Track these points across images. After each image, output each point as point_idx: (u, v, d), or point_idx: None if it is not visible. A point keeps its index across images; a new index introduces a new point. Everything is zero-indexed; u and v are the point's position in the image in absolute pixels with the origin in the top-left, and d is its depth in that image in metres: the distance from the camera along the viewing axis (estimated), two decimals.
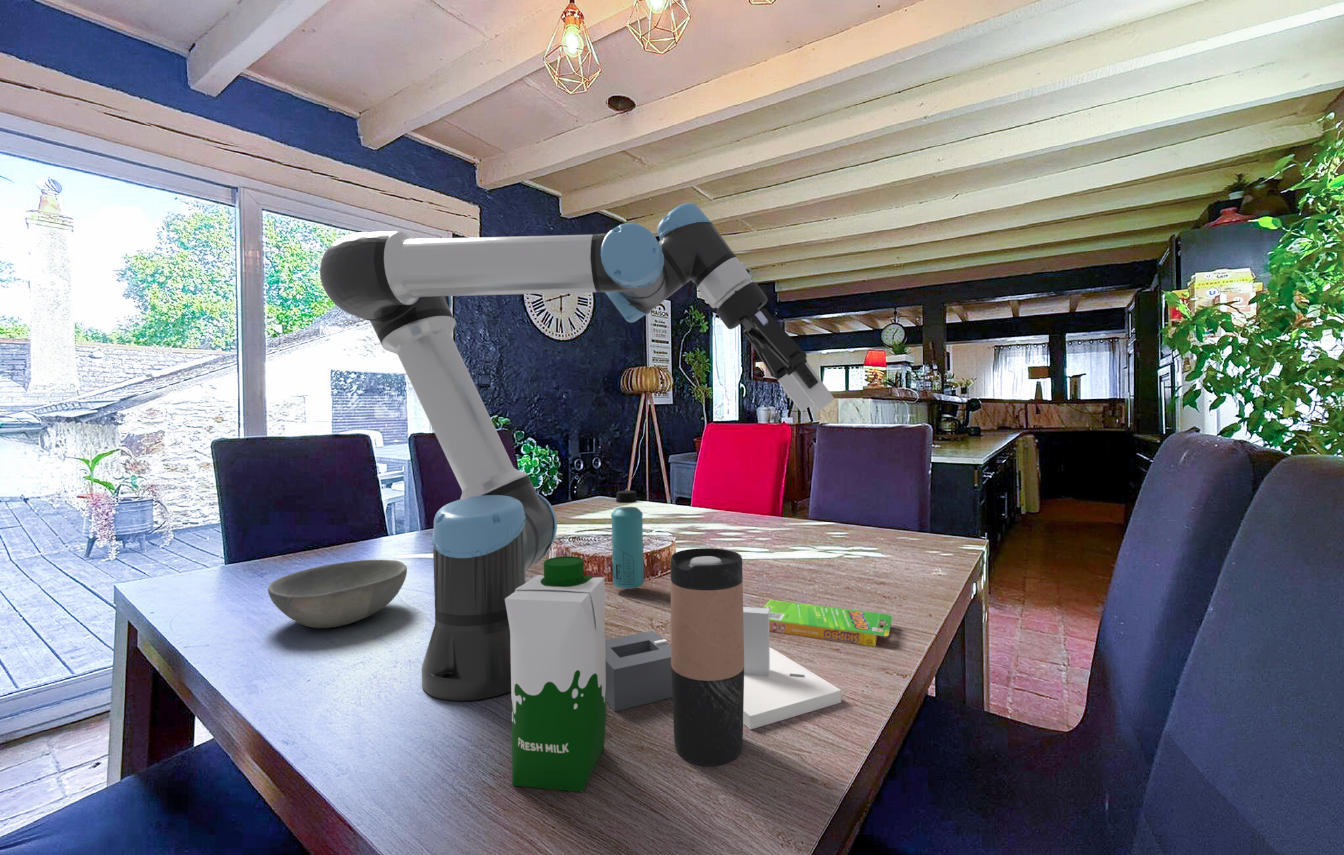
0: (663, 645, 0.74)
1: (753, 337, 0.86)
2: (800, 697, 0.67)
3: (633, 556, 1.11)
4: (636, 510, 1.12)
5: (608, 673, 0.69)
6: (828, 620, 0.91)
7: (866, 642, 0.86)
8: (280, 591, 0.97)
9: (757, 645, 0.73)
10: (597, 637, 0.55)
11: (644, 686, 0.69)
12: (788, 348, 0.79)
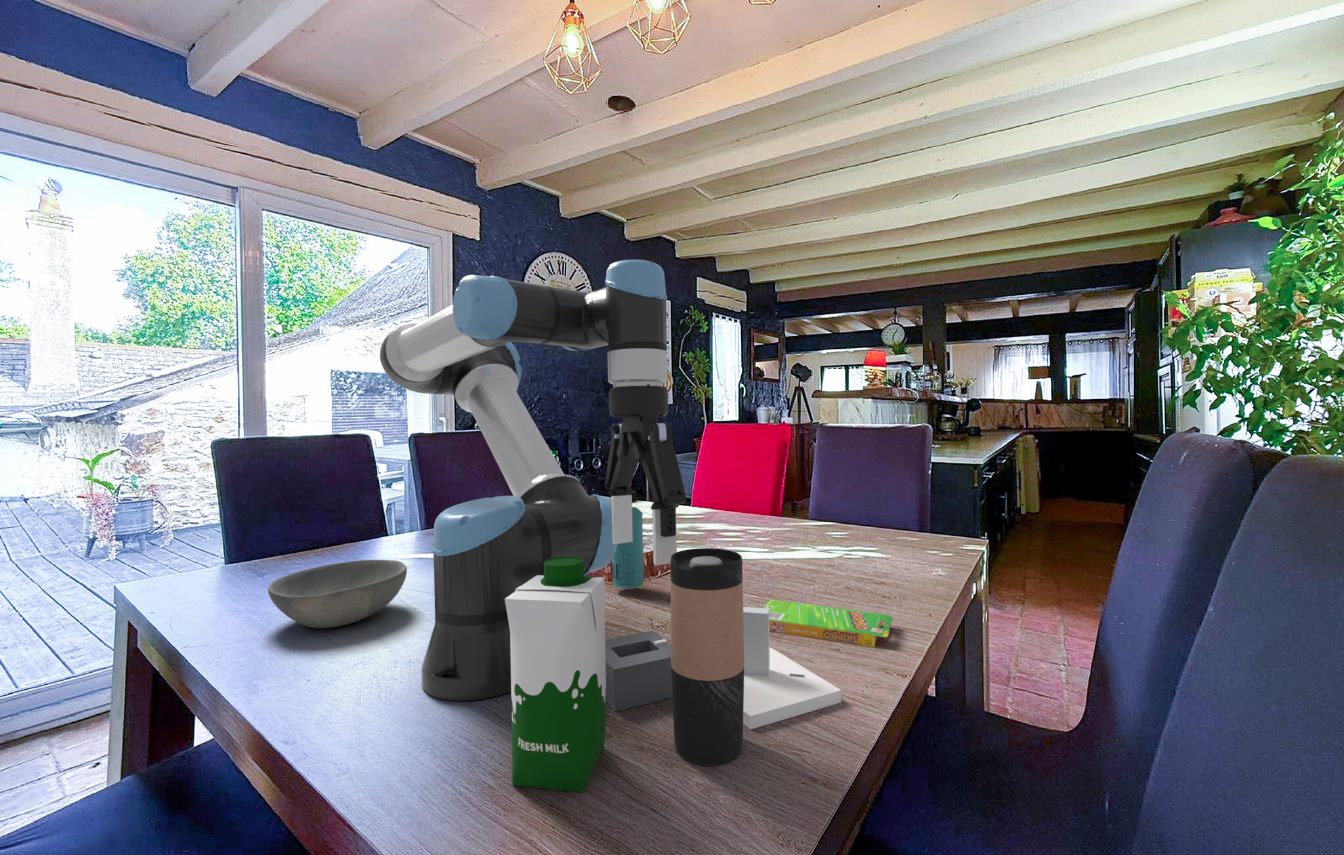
0: (663, 645, 0.74)
1: (633, 442, 0.70)
2: (800, 697, 0.67)
3: (633, 556, 1.11)
4: (636, 510, 1.12)
5: (608, 673, 0.69)
6: (828, 620, 0.91)
7: (865, 642, 0.86)
8: (280, 591, 0.97)
9: (757, 645, 0.73)
10: (597, 637, 0.55)
11: (644, 686, 0.69)
12: (672, 482, 0.65)
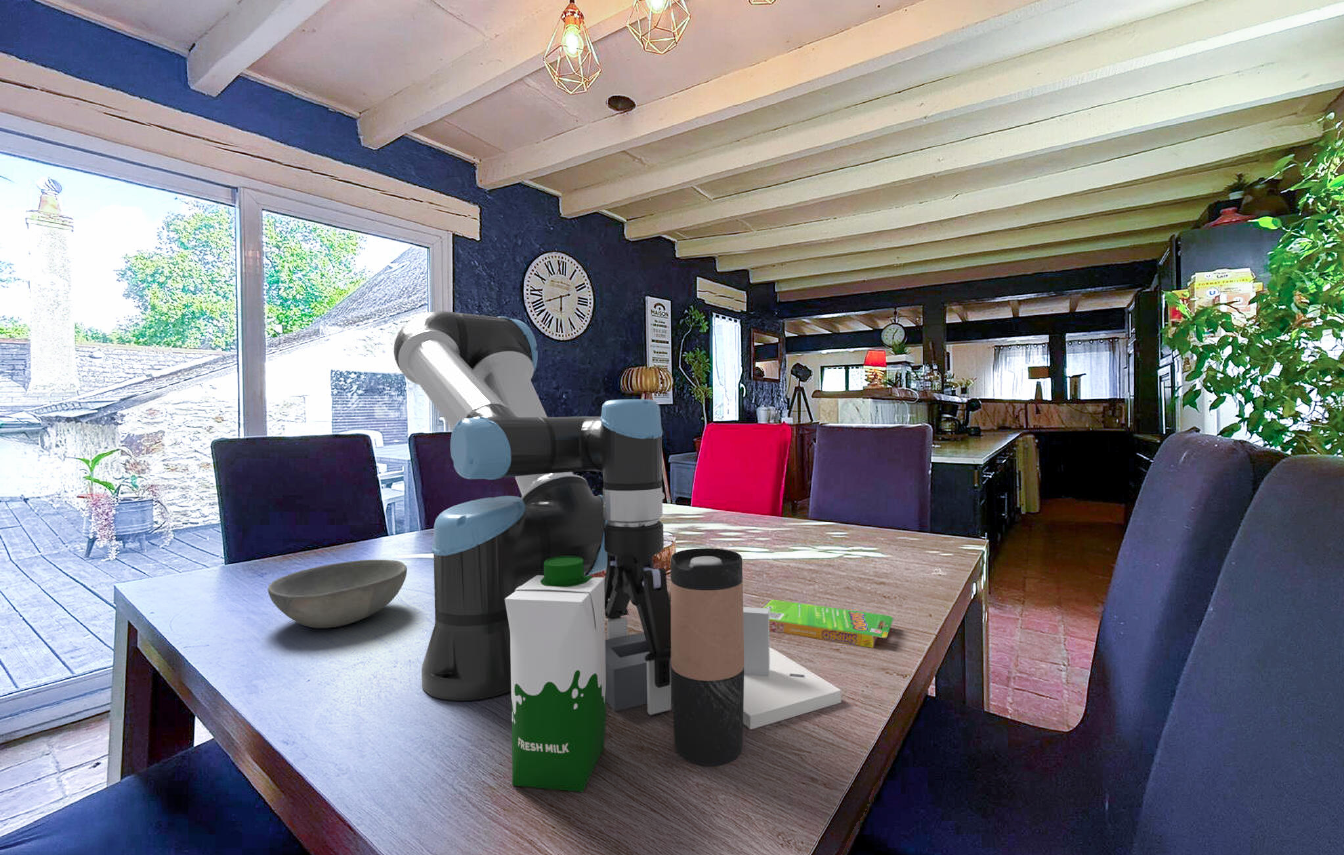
0: None
1: (627, 582, 0.70)
2: (800, 697, 0.67)
3: None
4: None
5: (608, 673, 0.69)
6: (827, 620, 0.91)
7: (864, 643, 0.85)
8: (280, 591, 0.97)
9: (757, 645, 0.73)
10: (597, 637, 0.55)
11: (644, 686, 0.69)
12: (666, 635, 0.64)
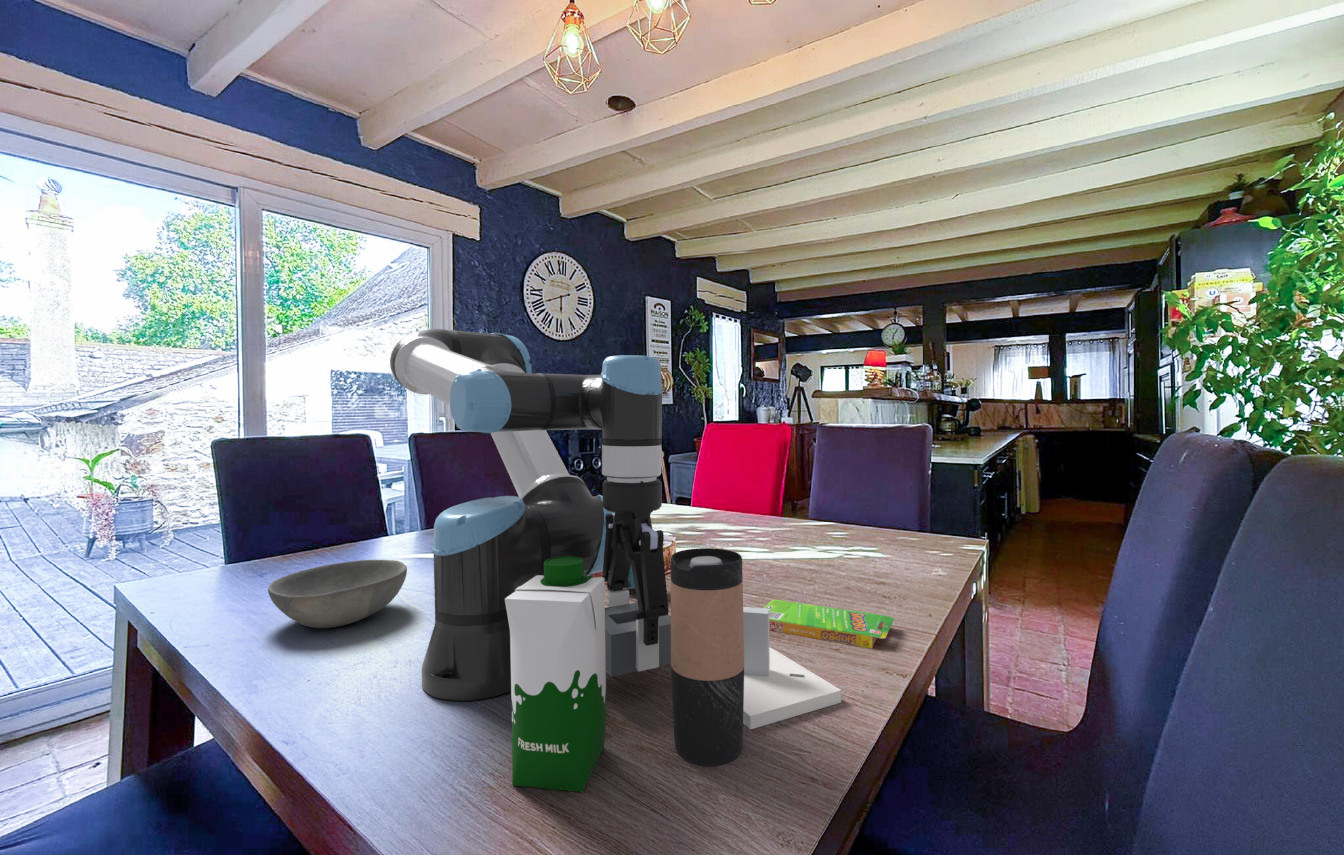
0: None
1: (624, 539, 0.71)
2: (800, 697, 0.67)
3: None
4: None
5: (605, 639, 0.69)
6: (827, 621, 0.90)
7: (863, 644, 0.85)
8: (280, 591, 0.97)
9: (757, 645, 0.73)
10: (597, 637, 0.55)
11: None
12: (657, 596, 0.66)
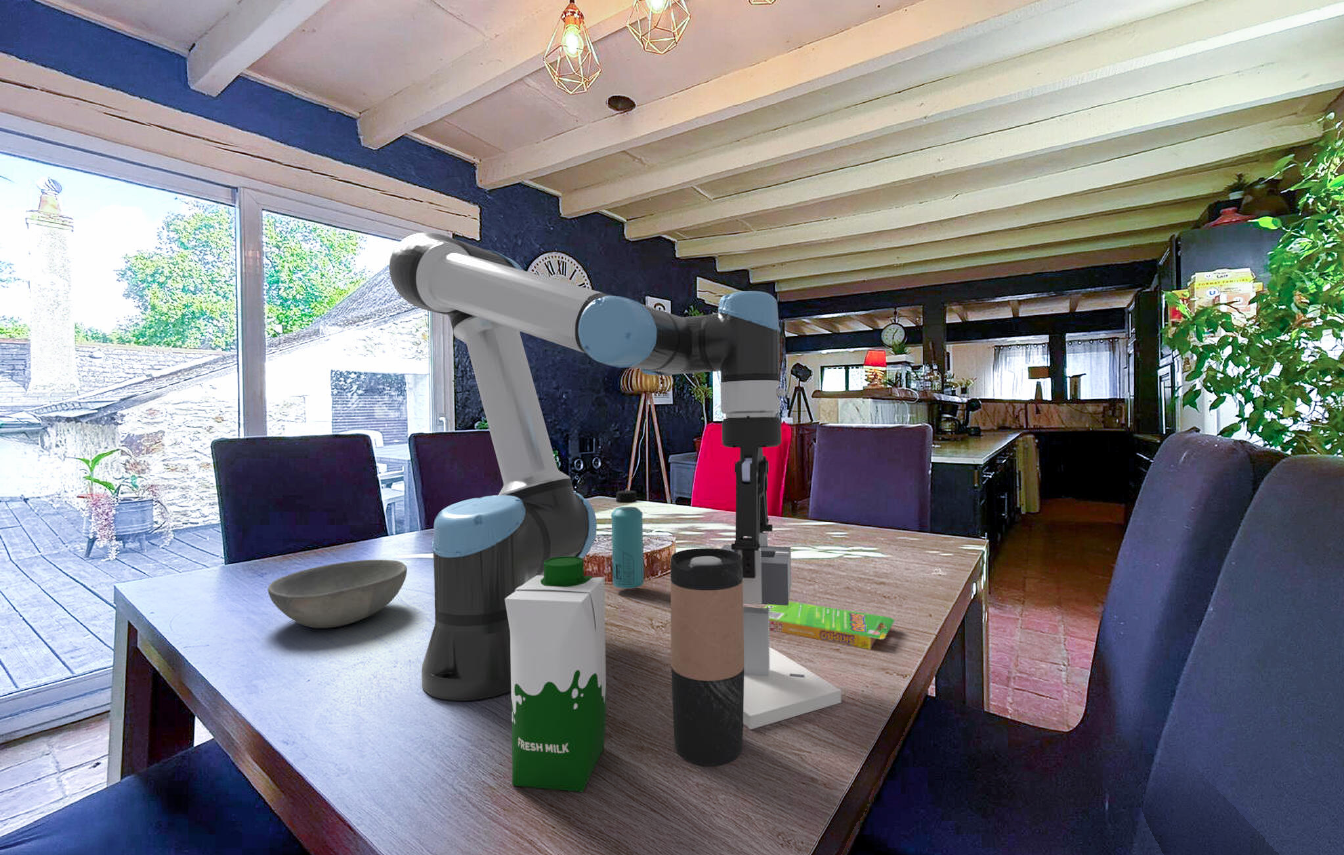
0: (781, 556, 0.72)
1: None
2: (800, 697, 0.67)
3: (633, 556, 1.11)
4: (636, 510, 1.12)
5: None
6: (826, 621, 0.90)
7: (861, 644, 0.85)
8: (280, 591, 0.97)
9: (757, 645, 0.73)
10: (597, 637, 0.55)
11: None
12: (745, 527, 0.66)
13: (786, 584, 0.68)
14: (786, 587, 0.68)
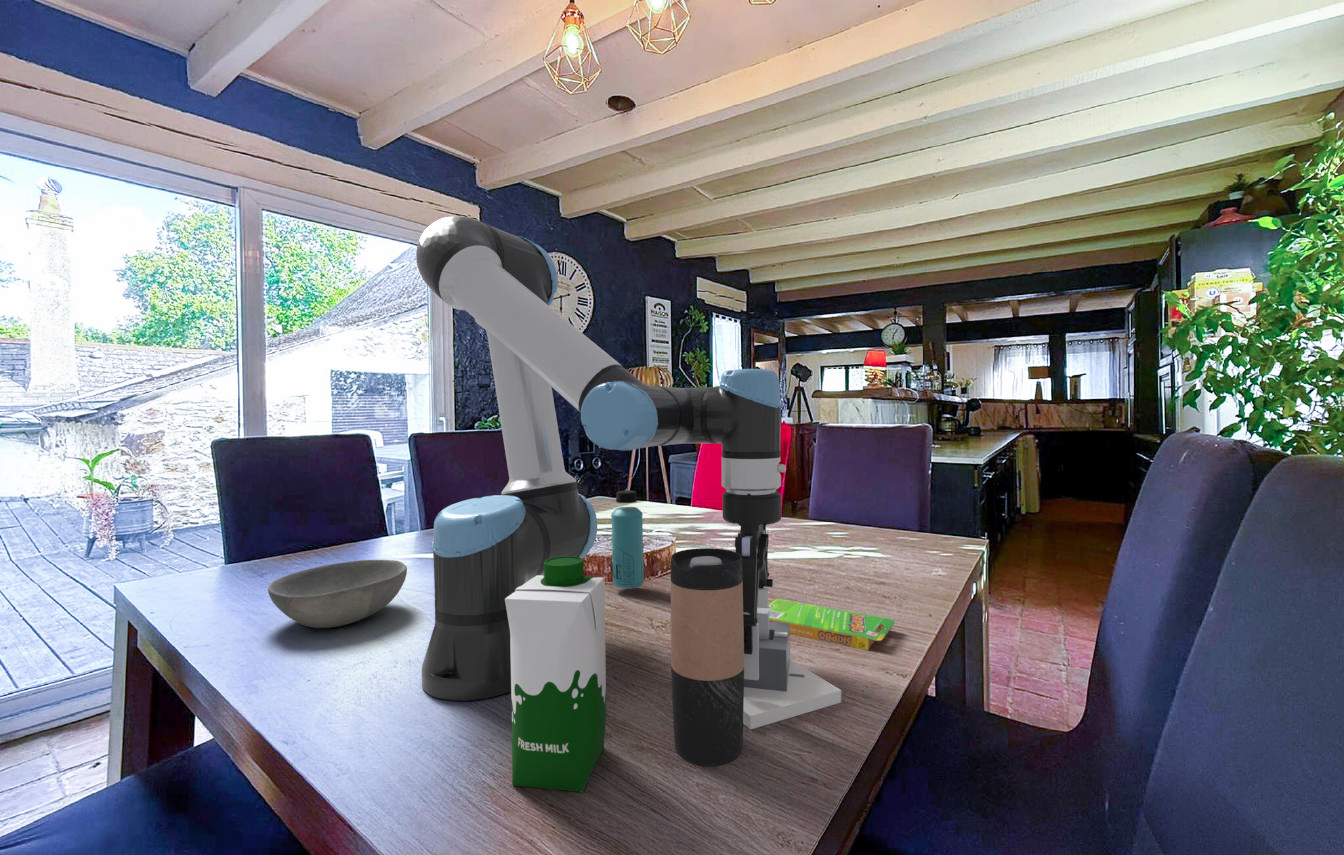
0: (780, 637, 0.72)
1: None
2: (800, 697, 0.67)
3: (633, 556, 1.11)
4: (636, 510, 1.12)
5: None
6: (825, 621, 0.90)
7: (858, 645, 0.85)
8: (280, 591, 0.97)
9: None
10: (597, 637, 0.55)
11: None
12: (743, 603, 0.65)
13: (785, 670, 0.69)
14: (784, 673, 0.69)
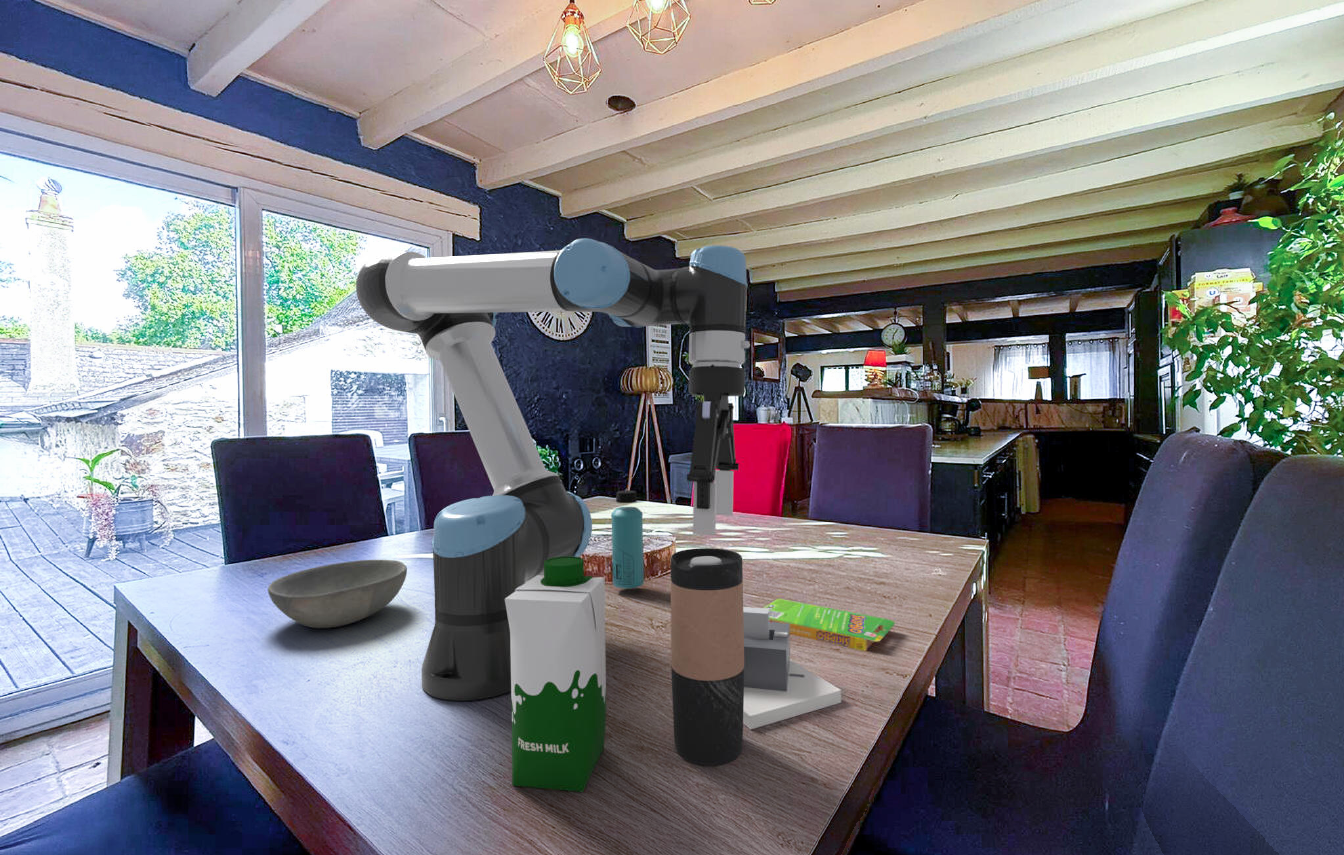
0: (780, 637, 0.72)
1: None
2: (800, 697, 0.67)
3: (633, 556, 1.11)
4: (636, 510, 1.12)
5: None
6: (824, 622, 0.90)
7: (857, 646, 0.84)
8: (280, 591, 0.97)
9: None
10: (597, 637, 0.55)
11: None
12: (700, 457, 0.68)
13: (785, 670, 0.69)
14: (784, 673, 0.69)
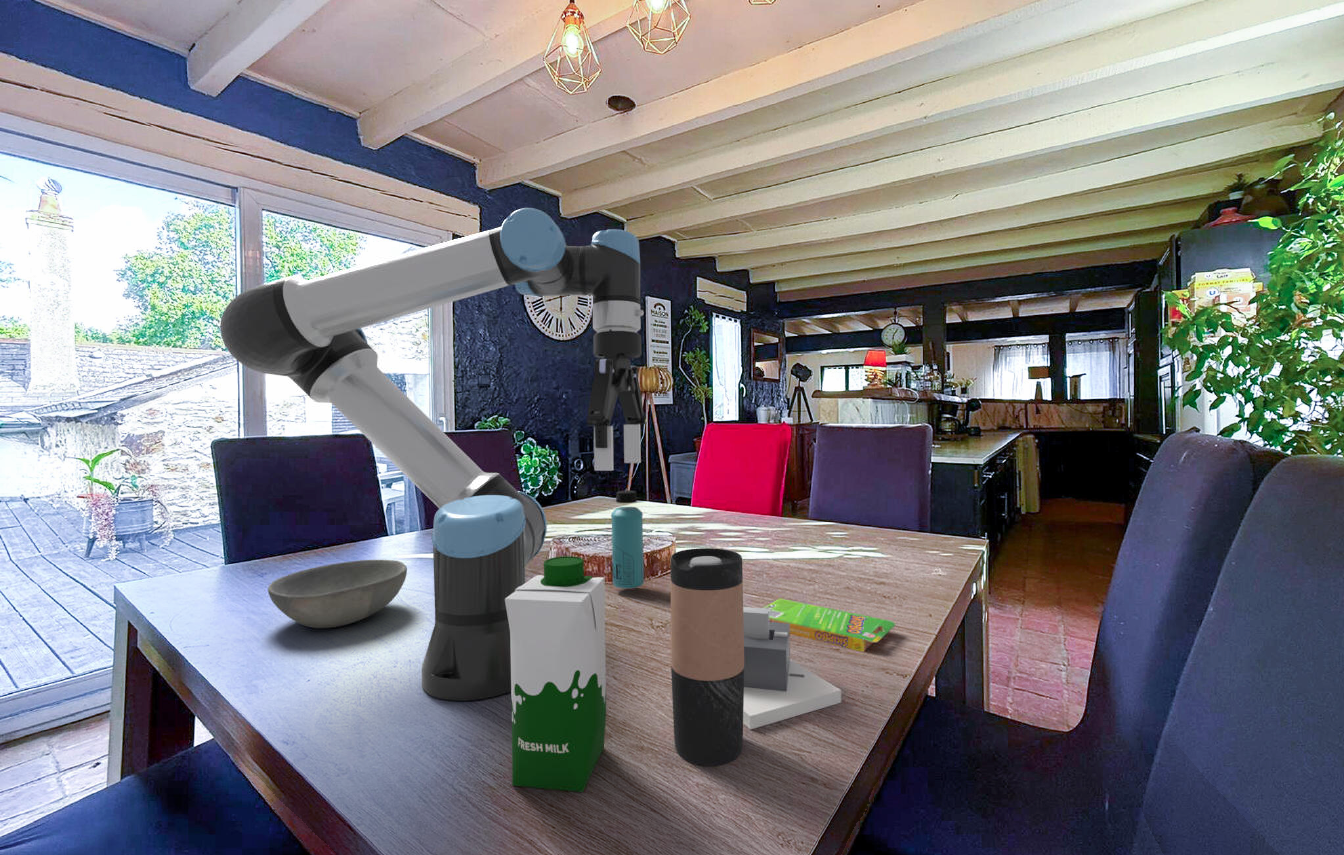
0: (780, 637, 0.72)
1: None
2: (800, 697, 0.67)
3: (633, 556, 1.11)
4: (636, 510, 1.12)
5: None
6: (824, 622, 0.90)
7: (855, 646, 0.84)
8: (280, 591, 0.97)
9: None
10: (597, 637, 0.55)
11: None
12: (596, 404, 0.82)
13: (785, 670, 0.69)
14: (784, 673, 0.69)
